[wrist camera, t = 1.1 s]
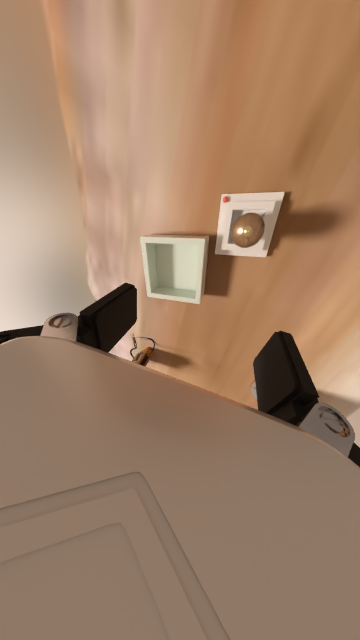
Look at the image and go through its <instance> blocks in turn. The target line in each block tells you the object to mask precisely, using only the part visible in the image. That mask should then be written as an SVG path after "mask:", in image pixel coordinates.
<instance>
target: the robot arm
mask: <svg viewBox="0 0 360 640" xmlns="http://www.w3.org/2000/svg"><path fill="white" fill-rule="evenodd" d="M136 320H137V289H136V288H135V286H134V285H132V284H128V283H124V284H123V285H121V286H120V287H118V288H116V289H115V290H113V291H112V292H110V293H109V294H107V295H105V296H104V297H102V298H101V299H99V300H98V301H96V302H95V303H93V304H92V305H90V306H88V307H87V308H85V309H84V310H82V311H81V312H80V315H79V316H78V317H77V316H76V315H74V314H72V313H60V314H56V315H53V316H51V317H49V318H48V319H47V320H46V321H45V323H44V325H42V326H36V327H29V328H22V329H15V330H8V331H3V332H0V640H360V448H359V447H358V446H357V445H356V444H355V443H354V440H355V433H354V430H353V428H352V426H351V425H350V423H349V422H348V421H347V419H346V418H345V417H344V416H343V415H342V414H341V413H340V412H338V411H337V410H336V409H334V408H333V407H331V406H329V405H327V404H324V403H319V402H318V399H317V398H318V397H319V395H318V393H317V391H316V388H315V386H314V384H313V382H312V379H311V377H310V375H309V373H308V370H307V368H306V366H305V364H304V361H303V359H302V357H301V355H300V352H299V350H298V348H297V346H296V344H295V341H294V339H293V337H292V335H291V334H289V333H286V332H283V331H279V332H275V333H274V334H273V335H272V337H271V338H270V339H269V341H268V342H267V343H266V345H265V346H264V347H263V349H262V350H261V351H260V353H259V354H258V355H257V357H256V358H255V360H254V363H253V365H254V374H255V381H254V382H253V383H252V385H251V393H252V395H253V397H254V398H255V399H257V402H258V410H256V409H254V408H251V407H249V406H246V405H244V404H241V403H239V402H236V401H233V400H231V399H228V398H226V397H223V396H220V395H218V394H215V393H213V392H210V391H208V390H205V389H202V388H200V387H197V386H195V385H192V384H189V383H187V382H184V381H182V380H179V379H176V378H174V377H171V376H168V375H166V374H163V373H161V372H158V371H155V370H153V369H150V368H147V367H145V366H142V365H139V364H137V363H134V362H131V361H129V360H126V359H123V358H121V357H118V356H115V355H113V354H110V353H108V352H109V351H110V350H111V349H112V348H113V347H114V346H115V345H116V344H117V342H118V341H119V340H120V339H121V338H122V337H123V336H124V335H125V334H126V333H127V331H128V330H129V329H130V328H131V327H132V326H133V325H134V324H135V322H136Z"/></svg>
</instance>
